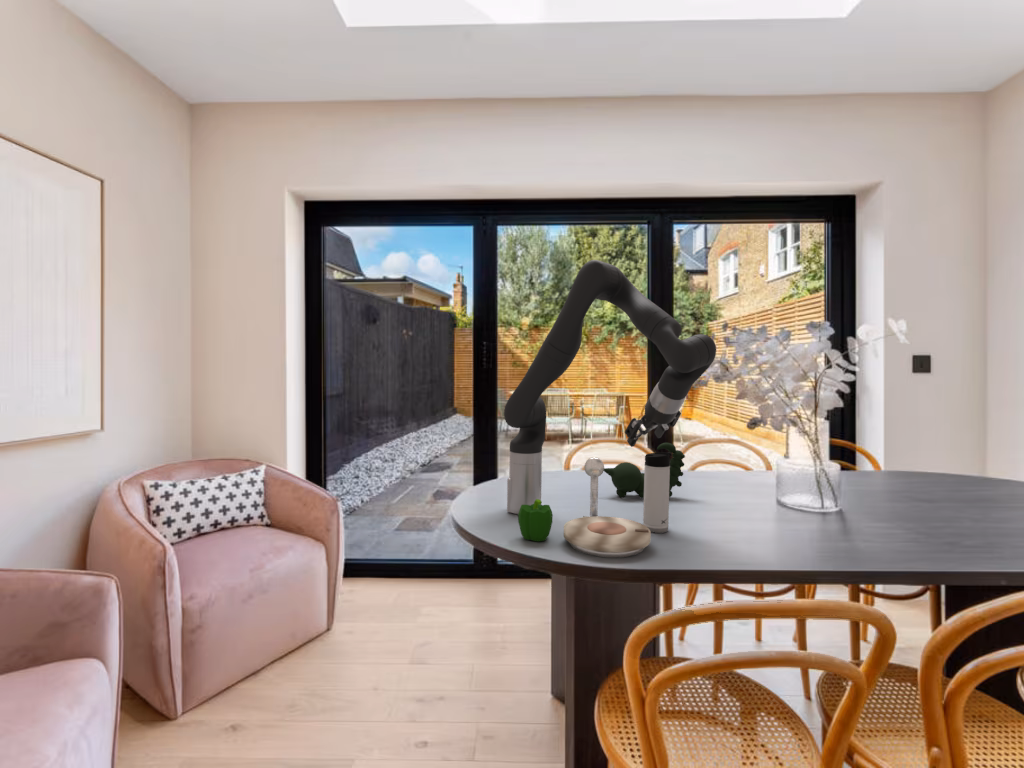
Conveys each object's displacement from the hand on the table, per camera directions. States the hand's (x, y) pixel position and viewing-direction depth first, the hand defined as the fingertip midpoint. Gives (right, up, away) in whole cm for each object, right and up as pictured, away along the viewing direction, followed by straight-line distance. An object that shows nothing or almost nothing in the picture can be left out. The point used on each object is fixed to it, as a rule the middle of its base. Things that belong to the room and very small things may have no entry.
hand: (643, 439), depth 142 cm
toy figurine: (+7, -22, +30) cm, 38 cm away
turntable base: (-12, -23, -15) cm, 30 cm away
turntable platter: (-12, -21, -15) cm, 29 cm away
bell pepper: (-29, -23, -11) cm, 39 cm away
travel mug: (+2, -23, -3) cm, 23 cm away
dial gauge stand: (-13, -23, -1) cm, 26 cm away
